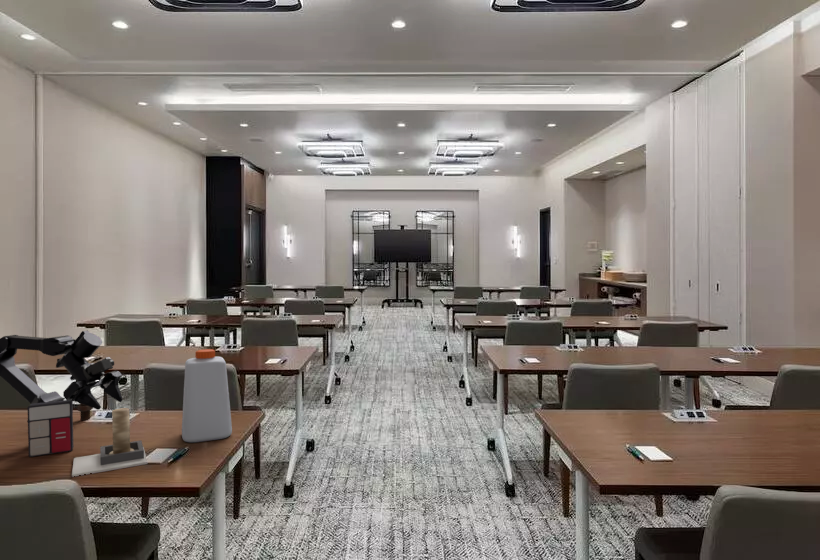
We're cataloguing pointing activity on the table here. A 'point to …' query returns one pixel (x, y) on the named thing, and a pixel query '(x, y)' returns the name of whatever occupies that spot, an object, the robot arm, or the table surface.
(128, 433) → the peg
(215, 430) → the plastic bottle
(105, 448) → the collar board
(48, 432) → the calculator
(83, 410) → the bolt
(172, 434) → the table surface
